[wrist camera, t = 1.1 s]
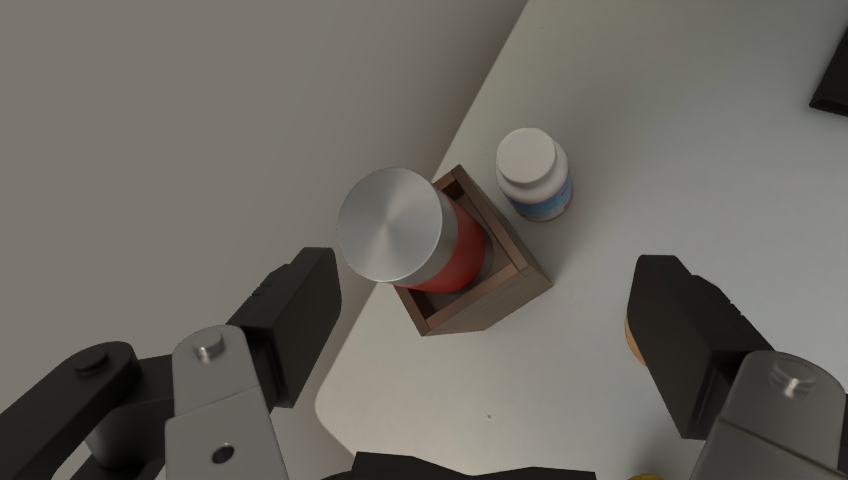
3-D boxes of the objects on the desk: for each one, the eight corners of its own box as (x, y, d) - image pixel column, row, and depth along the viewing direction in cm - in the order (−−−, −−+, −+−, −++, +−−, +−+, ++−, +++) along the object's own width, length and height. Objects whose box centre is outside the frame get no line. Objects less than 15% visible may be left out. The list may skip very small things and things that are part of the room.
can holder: (506, 218, 44) (459, 163, 29) (554, 285, 41) (530, 265, 26) (442, 263, 46) (364, 234, 30) (483, 331, 43) (421, 337, 28)
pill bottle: (582, 210, 42) (578, 174, 31) (522, 231, 43) (500, 203, 33) (560, 156, 43) (550, 105, 33) (504, 179, 45) (477, 137, 35)
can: (466, 199, 31) (405, 142, 21) (510, 265, 29) (466, 236, 19) (403, 245, 32) (318, 211, 22) (442, 311, 30) (367, 306, 20)
